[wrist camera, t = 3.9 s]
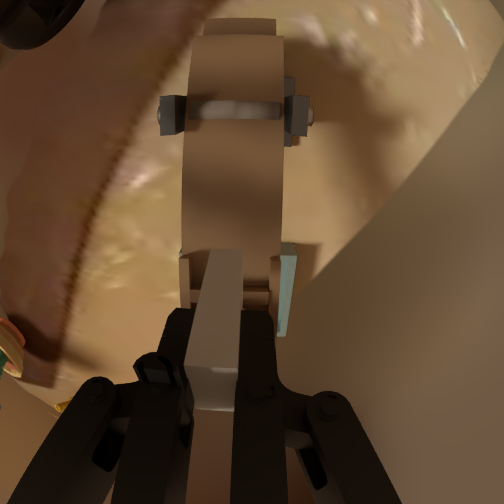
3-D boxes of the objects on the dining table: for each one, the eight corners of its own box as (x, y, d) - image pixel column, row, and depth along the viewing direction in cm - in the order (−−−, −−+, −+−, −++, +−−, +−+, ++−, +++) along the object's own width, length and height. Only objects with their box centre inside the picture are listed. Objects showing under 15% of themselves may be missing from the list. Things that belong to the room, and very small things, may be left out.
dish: (184, 240, 31) (179, 253, 29) (293, 243, 32) (297, 255, 29) (194, 319, 38) (191, 333, 35) (283, 321, 38) (285, 336, 36)
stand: (190, 78, 22) (147, 61, 12) (293, 78, 22) (324, 61, 12) (190, 144, 26) (150, 173, 15) (290, 145, 26) (316, 175, 16)
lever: (205, 38, 17) (195, 3, 12) (277, 38, 17) (284, 3, 12) (196, 329, 22) (184, 363, 17) (270, 331, 22) (275, 366, 17)
